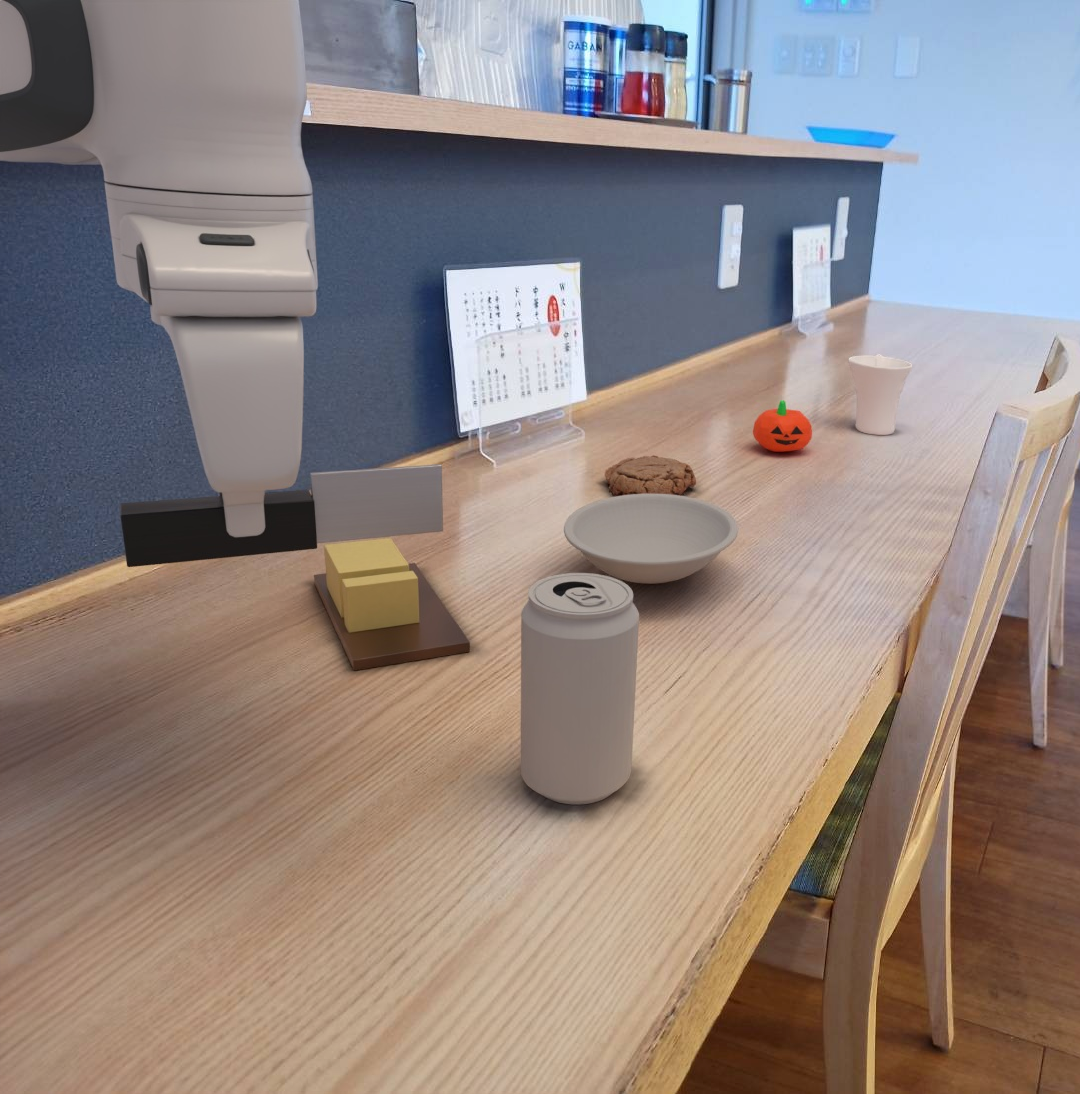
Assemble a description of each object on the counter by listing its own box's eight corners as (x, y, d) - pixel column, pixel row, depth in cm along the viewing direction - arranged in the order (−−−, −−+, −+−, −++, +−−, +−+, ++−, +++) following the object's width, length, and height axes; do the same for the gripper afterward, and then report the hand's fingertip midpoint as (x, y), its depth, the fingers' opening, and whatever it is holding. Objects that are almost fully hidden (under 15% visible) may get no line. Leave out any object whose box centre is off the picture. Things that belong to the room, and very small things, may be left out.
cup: (903, 425, 150) (912, 356, 147) (904, 441, 141) (914, 368, 138) (842, 418, 151) (849, 350, 148) (839, 434, 142) (847, 361, 139)
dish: (705, 633, 80) (709, 574, 78) (530, 604, 83) (531, 545, 81) (752, 557, 96) (756, 506, 94) (605, 534, 99) (606, 484, 97)
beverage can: (592, 739, 65) (598, 560, 60) (652, 788, 60) (663, 599, 56) (500, 770, 61) (499, 581, 57) (557, 825, 56) (560, 625, 52)
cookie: (609, 504, 107) (610, 476, 106) (601, 473, 117) (602, 448, 116) (704, 505, 109) (706, 477, 108) (688, 475, 119) (689, 449, 118)
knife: (127, 568, 52) (116, 492, 51) (126, 553, 54) (116, 480, 52) (447, 536, 60) (445, 469, 58) (438, 524, 61) (436, 459, 60)
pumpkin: (822, 452, 133) (827, 403, 131) (781, 461, 127) (786, 410, 125) (779, 439, 137) (784, 391, 135) (738, 448, 132) (742, 398, 130)
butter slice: (348, 633, 74) (345, 586, 73) (344, 624, 75) (341, 579, 74) (419, 622, 76) (418, 577, 75) (414, 614, 78) (413, 570, 76)
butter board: (353, 670, 71) (353, 660, 70) (314, 583, 83) (313, 574, 83) (470, 651, 74) (470, 641, 74) (415, 571, 87) (415, 562, 87)
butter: (341, 618, 76) (338, 572, 75) (326, 587, 81) (324, 544, 80) (410, 608, 79) (409, 564, 77) (392, 579, 83) (390, 537, 82)
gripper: (138, 227, 57) (165, 468, 62) (150, 279, 40) (186, 603, 45) (263, 231, 60) (280, 462, 65) (322, 282, 43) (338, 586, 48)
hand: (242, 521), depth 55 cm, fingers closed on knife, 2 cm apart
